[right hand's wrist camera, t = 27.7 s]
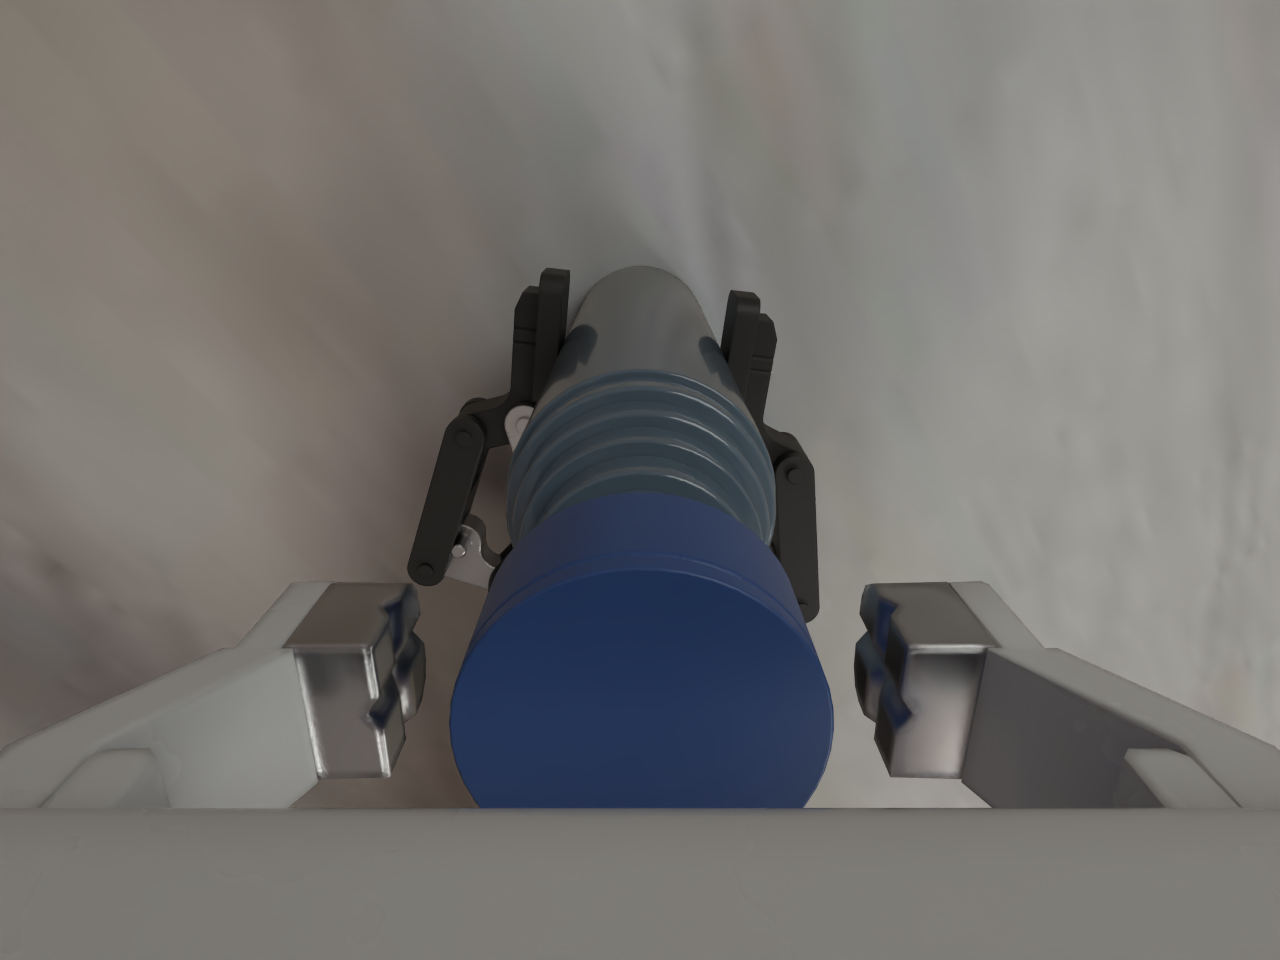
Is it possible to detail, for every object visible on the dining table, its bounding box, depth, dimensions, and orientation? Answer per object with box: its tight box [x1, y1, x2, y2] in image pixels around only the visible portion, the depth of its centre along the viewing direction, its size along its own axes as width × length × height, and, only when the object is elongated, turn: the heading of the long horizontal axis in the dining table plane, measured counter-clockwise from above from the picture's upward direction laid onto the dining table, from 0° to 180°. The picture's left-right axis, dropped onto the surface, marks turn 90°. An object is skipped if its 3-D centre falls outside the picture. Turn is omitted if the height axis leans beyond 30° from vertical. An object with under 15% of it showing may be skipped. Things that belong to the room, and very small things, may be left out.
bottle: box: [506, 266, 776, 548], centre depth 19 cm, size 5×5×22 cm
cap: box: [449, 492, 834, 808], centre depth 9 cm, size 4×4×2 cm
